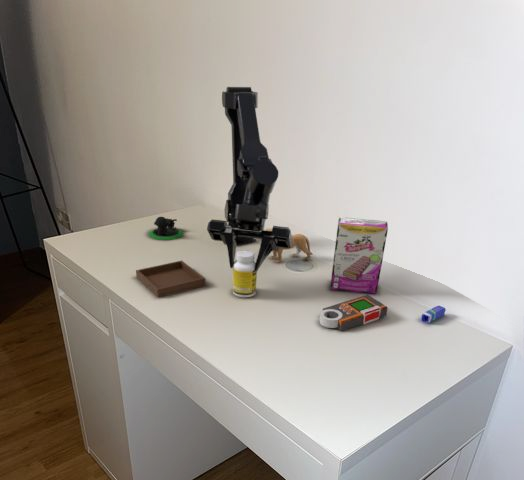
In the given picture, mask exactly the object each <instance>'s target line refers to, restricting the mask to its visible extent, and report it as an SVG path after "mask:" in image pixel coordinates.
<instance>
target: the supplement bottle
mask: <svg viewBox="0 0 524 480" xmlns="http://www.w3.org/2000/svg"><path fill="white" fill-rule="evenodd" d="M254 260H255V252H254V251H252V250H249V249H241V250H238V251H236V253H235V260H234V264H233V268H232V293H233V295H234V296H235V297H238V298H251V297H253V296H256V293H257V278H258V277H257V272H258V270H257V271H255V264H256V261H254Z"/></svg>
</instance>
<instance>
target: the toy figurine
mask: <svg viewBox="0 0 524 480" xmlns="http://www.w3.org/2000/svg"><path fill="white" fill-rule="evenodd" d="M176 222H178V220H177V219H176V218H174V219H172V218H168V217H167V218H166V217H165V216H158V217H156V219H155V221H154V222H153V225H154V226H156V227H157V228H154V229H152V230H150V231H149V232H148V236H149V237H150V238H151V239H154V240H159V241H170V240H176V239H180V238H181V237H182V236H184V232H183V231H182V230H181V229H179V228H177V227H176V226H175V224H176Z"/></svg>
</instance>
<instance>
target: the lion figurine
mask: <svg viewBox="0 0 524 480" xmlns="http://www.w3.org/2000/svg"><path fill="white" fill-rule="evenodd" d="M264 231H272V228H266V229H264ZM291 235H292V243H291V248H289V249H288V248H279V247H277V250H273V251H272V254H273V255H272V256H271V257H270V259H271V260H275V263H281V262H282V254H283V251H285V250H291V249H292V250H293V248H295V249H296V252H295V253H293V254H291V255H292V257H294V258H296V257H298V256H299V255H300V253H301V252H302V253H304V254H306V256H305V257H304V260H305V261H309V260H310V258H311V256H312V255H313V253H312V252H311V247H310V246H311V245H310V241H309V239H308V237H307V236H306V235H304V234H301V233H295V234H291ZM276 258H277V259H276Z"/></svg>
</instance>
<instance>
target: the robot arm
mask: <svg viewBox="0 0 524 480" xmlns="http://www.w3.org/2000/svg"><path fill="white" fill-rule="evenodd" d="M258 95H259V94H258V91H257V92H256V91H253V90H252V86H227V87H226V89H225V91H222V92H221V104H222V108H224V116H225V117H226V119H227V120H228V122H229V123H230V127H231V154H232V157H231V158H232V180H233V181H232V185H231V187H230V188H229V191H228V193H227V199H226V200H225V204H224V205H225V206H224V210H223V211H224V218H225V220H221V219H211V220H209V222H208V223H207V227H206V231H207V232H208V234H209V237H210V239H211V240H213V241H216V242H222V243H223V245H225V246H226V248H227V255H228V262H229V267H230V269H233V264H234V262H235V261H236V253H237V247H238V246H242V245H247V244H251V243H255V242H256V239H259V240H260V246H259V249H258V253H257V258H256V260H255V263H256V264H255V271H257V272H258V271H259V269H260V268H261V266H262V264H263V263H264V262H265V260H266V259H267V258H268V256H269V255H270V254H271V253H273V250H277V247H279V248H288V250H290V249H289V248H291V243H292V235H293V234H292V230H291V229H290V227H288V226H279V225H273V226H272V227H271V229H272V231H265V225H266V220H268V218H269V213H270V212H269V209H270V204H269V202H270V198H271V193H272V192H273V190H274V188H275V185H276V184H277V181H278V178H279V170H278V168H277V166H276V165H275V164H274V163H273V161H272V159H271V158H270V157H269V152H268V148H267V147H266V146H265V145H264V144H263V143H262V142H261V138H260V137H261V136H260V131H259V124H258V117H257V111H256V109H258V103H259V101H258V100H259V97H258Z"/></svg>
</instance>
